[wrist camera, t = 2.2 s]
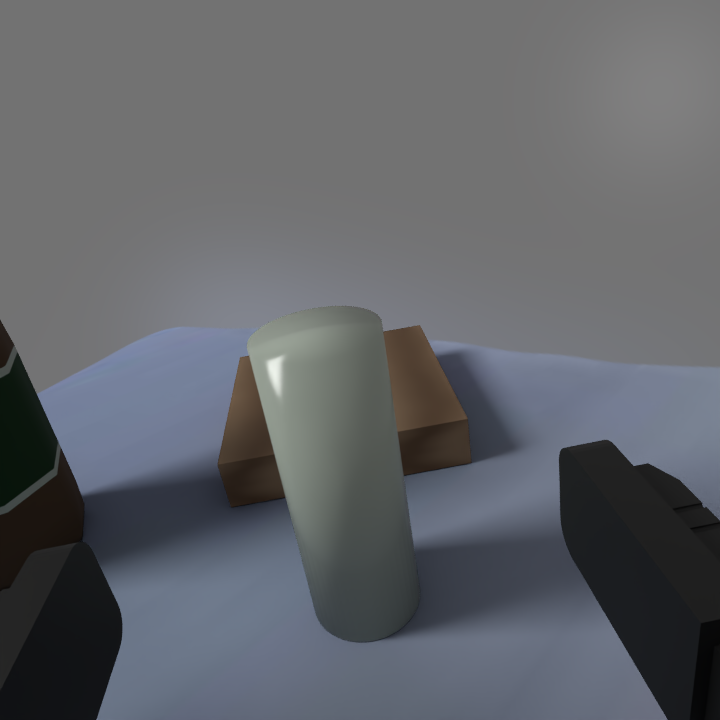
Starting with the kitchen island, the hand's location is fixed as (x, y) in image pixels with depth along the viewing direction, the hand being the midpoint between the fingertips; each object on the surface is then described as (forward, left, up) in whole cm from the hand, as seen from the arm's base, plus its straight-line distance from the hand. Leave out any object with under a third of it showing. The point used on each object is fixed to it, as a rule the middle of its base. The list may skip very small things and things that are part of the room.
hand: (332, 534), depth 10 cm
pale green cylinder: (0, +11, -14) cm, 18 cm away
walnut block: (0, +26, -14) cm, 30 cm away
